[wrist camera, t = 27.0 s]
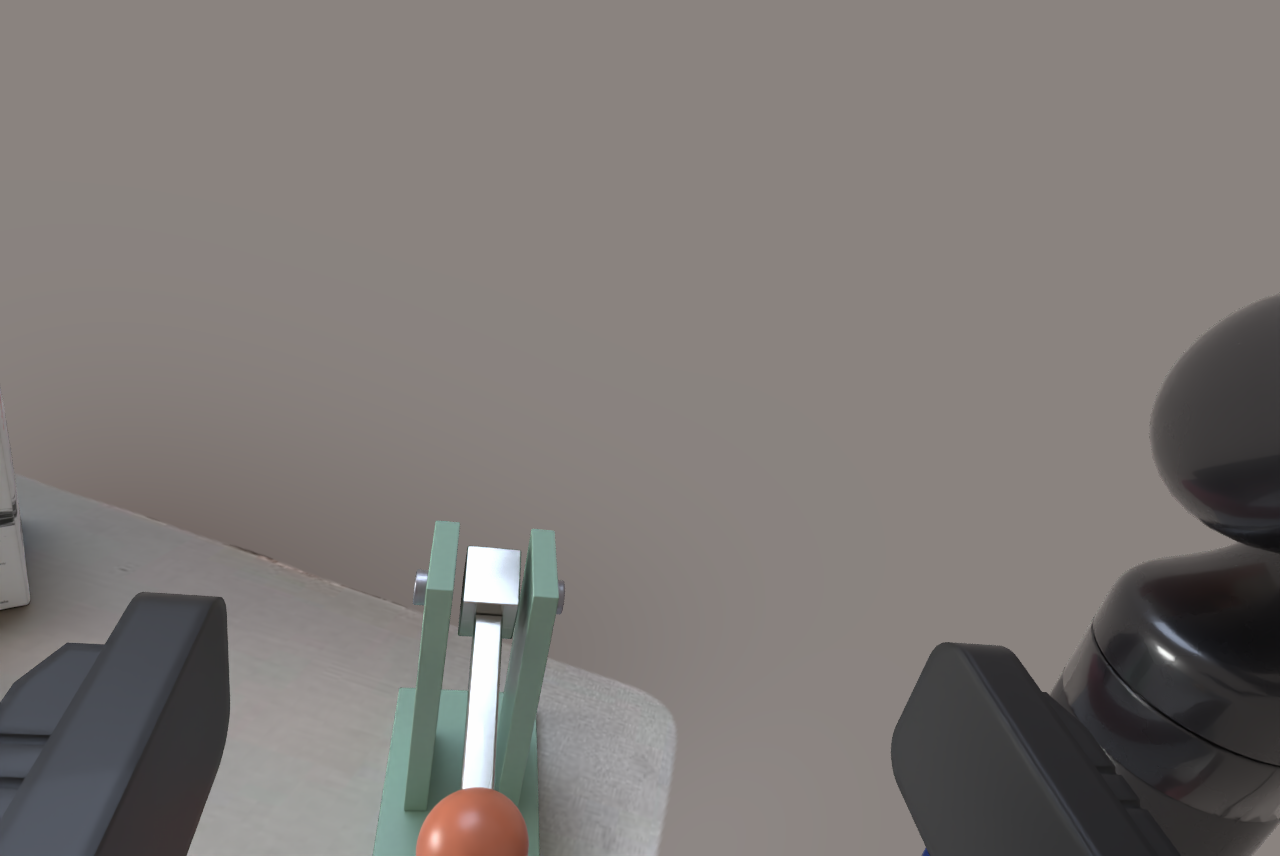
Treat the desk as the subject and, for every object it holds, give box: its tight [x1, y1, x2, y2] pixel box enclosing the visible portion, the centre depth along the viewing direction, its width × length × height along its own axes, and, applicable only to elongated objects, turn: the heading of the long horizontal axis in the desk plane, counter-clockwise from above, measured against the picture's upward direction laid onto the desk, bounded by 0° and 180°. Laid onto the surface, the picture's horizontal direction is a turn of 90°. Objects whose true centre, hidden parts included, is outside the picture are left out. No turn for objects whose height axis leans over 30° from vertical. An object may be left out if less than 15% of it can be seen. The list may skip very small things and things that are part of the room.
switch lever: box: [416, 546, 529, 856], centre depth 31 cm, size 13×4×4 cm, turn 8°
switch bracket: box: [373, 521, 565, 856], centre depth 37 cm, size 10×7×14 cm
